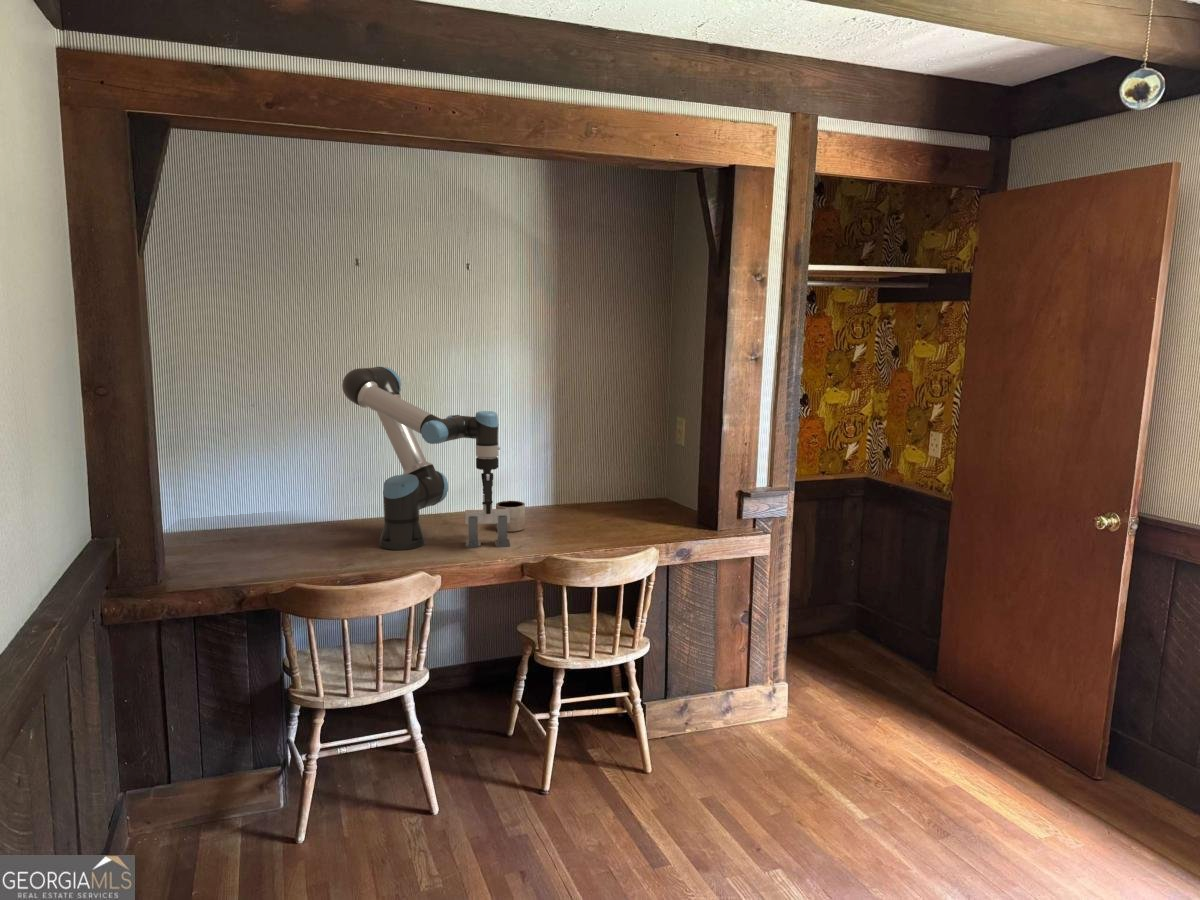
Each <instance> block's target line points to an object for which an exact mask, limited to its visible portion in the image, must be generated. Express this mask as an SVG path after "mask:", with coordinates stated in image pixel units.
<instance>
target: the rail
mask: <svg viewBox="0 0 1200 900" xmlns="http://www.w3.org/2000/svg"><path fill="white" fill-rule="evenodd" d="M464 517H465V525H469V518H475V517H477V518H478V525H486V524H487V525H488V524H489V525H490V524H491V525H492V524H495V525H496V523H498V517H507V523H510V510H509V509H496V508H492V523H484V510H483V509H466V510H465V516H464Z"/></svg>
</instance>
